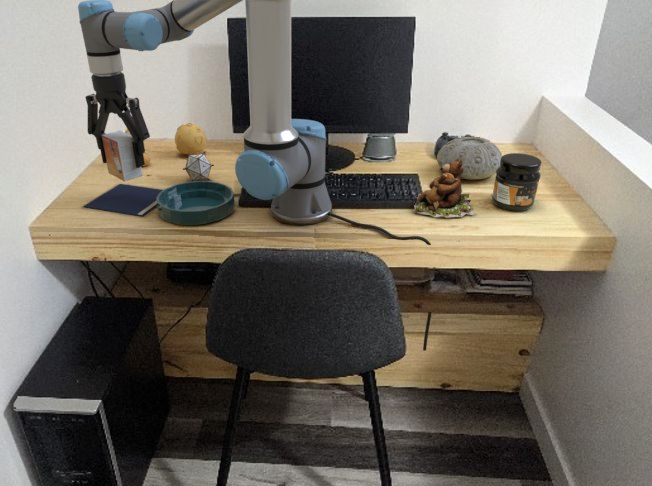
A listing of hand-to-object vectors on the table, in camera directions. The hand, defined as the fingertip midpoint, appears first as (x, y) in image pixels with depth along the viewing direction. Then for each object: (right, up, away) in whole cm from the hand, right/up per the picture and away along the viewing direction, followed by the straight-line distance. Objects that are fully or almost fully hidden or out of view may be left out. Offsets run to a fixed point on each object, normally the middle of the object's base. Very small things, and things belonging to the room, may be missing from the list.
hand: (123, 163), depth 142 cm
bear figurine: (+82, -12, -1) cm, 82 cm away
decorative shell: (+94, +1, +19) cm, 96 cm away
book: (0, -9, +5) cm, 10 cm away
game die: (+17, -2, +17) cm, 24 cm away
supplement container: (+100, -11, +1) cm, 101 cm away
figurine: (-3, +5, +27) cm, 28 cm away
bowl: (+19, -12, -1) cm, 22 cm away
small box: (0, -3, +2) cm, 3 cm away
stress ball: (+11, +10, +36) cm, 38 cm away
